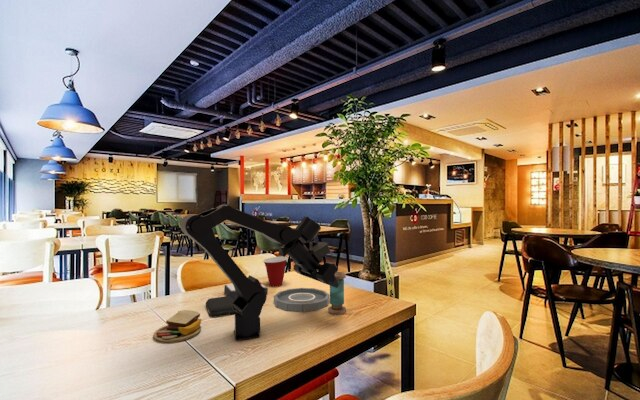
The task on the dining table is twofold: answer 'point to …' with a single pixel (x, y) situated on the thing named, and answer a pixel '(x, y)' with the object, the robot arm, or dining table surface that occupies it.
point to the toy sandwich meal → (179, 327)
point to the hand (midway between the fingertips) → (329, 283)
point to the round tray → (301, 299)
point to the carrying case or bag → (220, 306)
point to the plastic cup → (275, 270)
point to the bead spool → (337, 296)
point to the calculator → (231, 292)
